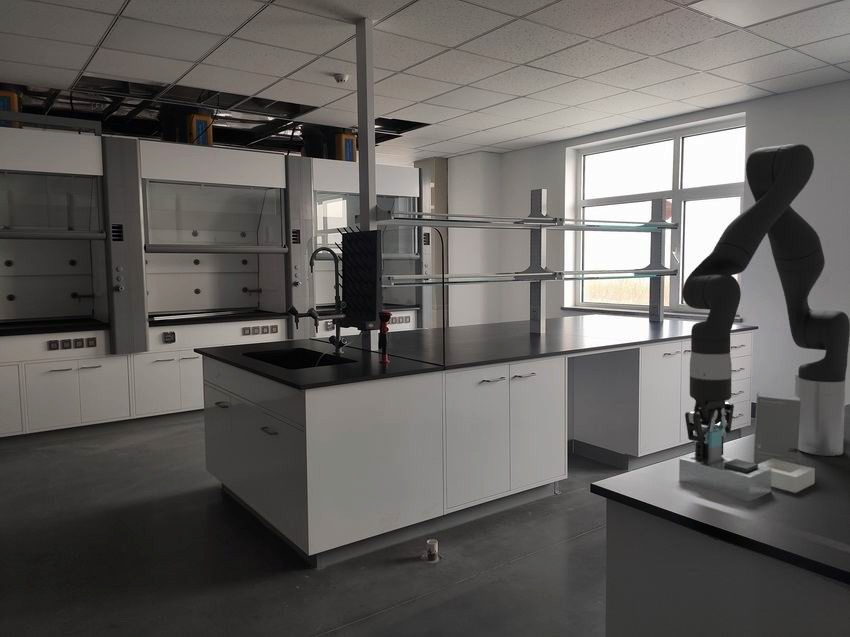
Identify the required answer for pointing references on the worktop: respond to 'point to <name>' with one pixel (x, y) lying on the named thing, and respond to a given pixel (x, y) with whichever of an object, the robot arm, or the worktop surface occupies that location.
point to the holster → (789, 475)
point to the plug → (713, 446)
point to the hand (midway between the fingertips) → (709, 457)
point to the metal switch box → (727, 477)
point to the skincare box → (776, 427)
